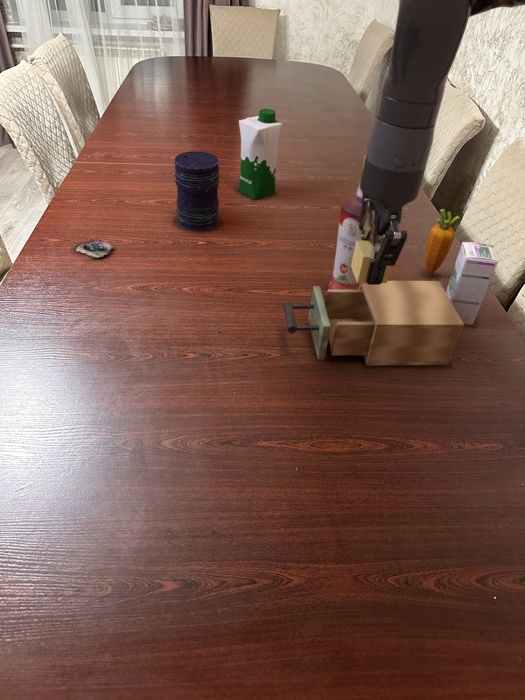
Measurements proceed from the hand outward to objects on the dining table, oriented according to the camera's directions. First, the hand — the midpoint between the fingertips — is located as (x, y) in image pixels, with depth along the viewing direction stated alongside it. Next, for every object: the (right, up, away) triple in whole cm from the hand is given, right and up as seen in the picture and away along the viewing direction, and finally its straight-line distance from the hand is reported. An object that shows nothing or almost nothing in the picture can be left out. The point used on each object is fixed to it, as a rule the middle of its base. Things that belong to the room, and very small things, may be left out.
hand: (369, 272), depth 76 cm
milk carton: (-17, +31, +63) cm, 72 cm away
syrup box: (+23, -4, +27) cm, 35 cm away
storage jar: (-31, +19, +49) cm, 61 cm away
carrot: (+20, +5, +37) cm, 43 cm away
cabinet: (+9, -10, +19) cm, 23 cm away
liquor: (+1, 0, +30) cm, 30 cm away
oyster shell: (-52, +10, +36) cm, 64 cm away
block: (0, 0, 0) cm, 0 cm away
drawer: (-2, -9, +18) cm, 20 cm away
